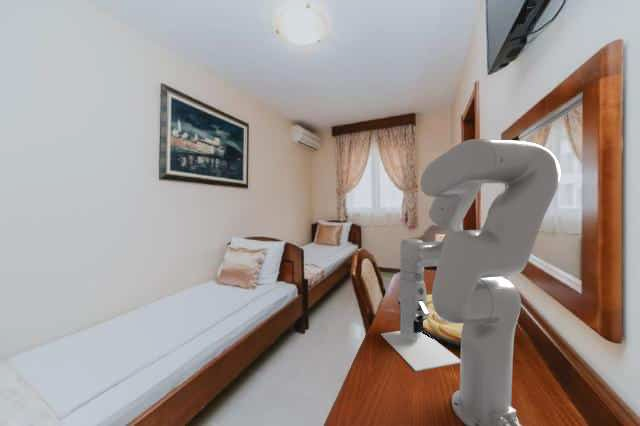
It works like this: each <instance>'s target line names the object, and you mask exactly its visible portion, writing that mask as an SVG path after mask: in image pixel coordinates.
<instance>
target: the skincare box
mask: <svg viewBox="0 0 640 426" xmlns="http://www.w3.org/2000/svg"><path fill="white" fill-rule="evenodd" d="M399 306H400V309H399V323H400V327H399V328H400V330H399V331H400V335H403V336H406V337H408V338H411V339H414V340H416V341H417V340H418V339H419V338H420V337H421V336H422V332H419V333H414V331H413V329H414V320H415V318H414V314H413V312H412V311H411V310H409V309H408V308H407V306H406V302H405V301H403V300H401V301H400V305H399ZM417 311H419V308H418V309H417ZM417 316H420V314H419V313H417Z"/></svg>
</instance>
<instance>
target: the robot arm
mask: <svg viewBox="0 0 640 426" xmlns="http://www.w3.org/2000/svg"><path fill="white" fill-rule="evenodd" d="M560 181H561V167H560V163H559V161H558V160H557V158H556V156H555V155H554V154H553V153H552V152H551V151H550V150H549V149H547V148H546V147H543V146H542V145H540V144H537V143H532V142H529V141H528V142H527V141H522V140H509V139H508V140H507V139H506V140H505V139H485V138H473V139H468V140H465V141H462V142H460V143H458V144H456V145H455V146H453V147H452V148H450V149H449V150H448V149H447V151H445V152H444V153H442V154H441V155H439V156H438V157H437V158H435V159H434V160H433V161H431V162H430V163H429V164H428V165H427V167H425V169H424V170H423V172H422V175H421V177H420V184H419V185H420V188H421V191H422V193H423V194H424V195H426V196H428V197H431V198H433V197H434V199H433V202H432V204H431V206H430V208H429V210H428V216H429V218H430V220H431V222H433V223H434V224H435V225H437V226H438V227H439V228H442V229H445V230H446V232H445V235H444V236H443V238H442V240H441V241H423V240H422V239H419V238H403V239H402V240H401V241H400V259H399V260H400V263H399V265H400V267H399V268H400V269H399V270H400V272H399V284H398V293H397V294H396V298H397V303H398V308H399V310H400V301H401V300H403V301H405V302H406V306H407V308H408V309H409V310H411V311H412V312H413V314H414V318H415V320H414V329H413V331H414V333H419V332H423V331H424V329H423V321H424V320H425V319H426V317H427V316H428V315H429V313H430V312H428V302H427V301H428V296H427V295H428V294H427V286H426V282H425V281H424V280H425V275H424V274H425V268H429V267H436V270H435V275H434V279H433V283H432V289H431V302H432V305H433V308H434V311H435V313H436V314H437V315H438V317H440V319H442V320H443V321H446V323H451V324H463V325H462V329H461V336H460V360H461V362H460V363H459V365H460V366H459V369H460V370H459V371H460V373H459V389H458V390H456V391H455V392H453V394H452V396H451V406H452V409H453V412H454V413H455V415H456V416H457V417H458V418H459V420H460V421H461V422H463V424H464V425H465V426H523V425H522V424H520V421H519V418H518V417H517V410H516V409H515V408H513V406H512V390H513V389H512V387H513V363H514V362H513V361H514V360H513V359H514V358H513V357H514V344H515V343H514V341H515V333H516V326H517V324H518V321H519V317H520V313H521V307H522V299H521V295H520V292H519V290H518V288H517V286H515V284H514V283H513V282H511V281H510V280H509V279H507V278H506V277H510V276H515V275H518V274H520V273H521V272H523V271H524V270H525V268H526V266H527V264H528V262H529V259H530V257H531V254H532V251H533V248H534V246H535V243H536V240H537V238H538V235H539V233H540V230H541V228H542V224H543V221H544V218H545V216H546V214H547V211H548V209H549V207H550V205H551V203H552V201H553V199H554V197H555V194H556V193H557V191H558V188H559V184H560ZM484 184H503V185H505V188H504V189H503V190H502V191H500V193H498V194H497V196H495V198H494V200H493V201H492V202H491V204H490V207H488V211H487V216H486V218H485V221H484V223H483V226H482V227H481V228H480V229H467V230H465V229H463V226H462V222H463V220H464V219H465V216H466V215H467V213H468V211H469V210H470V208H471V206H472V204H473V203H474V201H475V199H476V197H477V195H478V194H479V192H480V191H481V189H482V187H483V185H484ZM418 308H419V311H417V309H418ZM417 313H419V314H420V316H417Z"/></svg>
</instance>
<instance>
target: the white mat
mask: <svg viewBox="0 0 640 426" xmlns="http://www.w3.org/2000/svg"><path fill="white" fill-rule="evenodd" d="M380 336H382V337H383V339H385V341H386V342H387V343H388V344H389V345H390V346H391V348H393V349H394V350H395V351H396V353H398V354H399V356H400V357H402V359H403V360H404V361H405V362H406V363H407V364H408V365H409V366H410V368H412V370H413V371H414V372H420V371H422V372H423V371H425V370H426V371H427V370H432V369H437V368H442V367H447V366H452V365H456V364H457V365H459V364H460V362H461V358H459V357H458V356H456V355H455V354H454V353H453V352H451V351H450V350H448V348H446V347H445V346H443V345H442V344H441V343H439V342H438V341H437V340H436V339H434V338H433V337H432V338H433V339H432V338H430V337H431V336H430V337H428V336H427V335H425V334H423V333H422V336H421V337H420V338H419V339H418V340H417V341H416V340H414V339H411V338H408V337H406V336H403V335H400V330H396V331H389V332H384V333H383V332H382V333H380Z"/></svg>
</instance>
